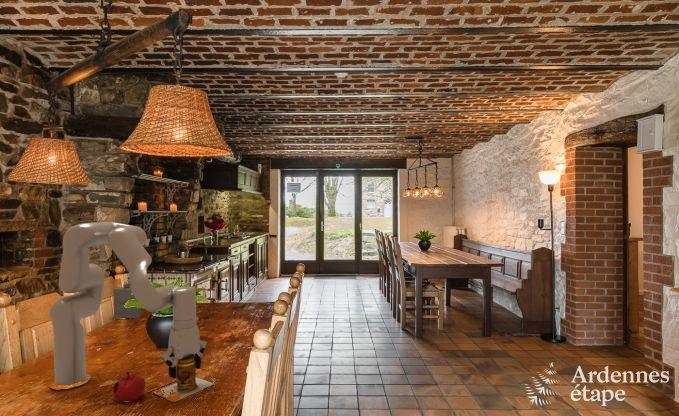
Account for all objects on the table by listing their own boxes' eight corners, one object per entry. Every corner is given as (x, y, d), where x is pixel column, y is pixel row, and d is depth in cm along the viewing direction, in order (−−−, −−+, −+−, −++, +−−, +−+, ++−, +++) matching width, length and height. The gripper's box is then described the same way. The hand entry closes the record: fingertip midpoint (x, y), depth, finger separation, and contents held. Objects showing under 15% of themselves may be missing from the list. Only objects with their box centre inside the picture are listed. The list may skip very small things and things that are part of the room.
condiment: (178, 395, 139) (177, 359, 139) (172, 386, 146) (172, 352, 146) (200, 390, 143) (199, 355, 143) (194, 381, 150) (193, 348, 150)
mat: (152, 394, 142) (152, 392, 142) (192, 377, 155) (192, 376, 155) (174, 403, 135) (174, 401, 135) (214, 385, 148) (214, 383, 148)
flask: (111, 320, 238) (111, 284, 238) (116, 317, 244) (115, 283, 244) (138, 319, 239) (138, 284, 239) (142, 316, 245) (142, 282, 244)
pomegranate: (150, 391, 144) (150, 364, 144) (137, 405, 134) (137, 376, 134) (121, 392, 144) (121, 365, 144) (106, 406, 134) (105, 377, 134)
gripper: (198, 316, 153) (199, 362, 154) (155, 327, 139) (155, 379, 139) (212, 319, 149) (212, 366, 149) (168, 331, 135) (169, 384, 135)
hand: (185, 372), depth 144 cm, fingers open, 9 cm apart
